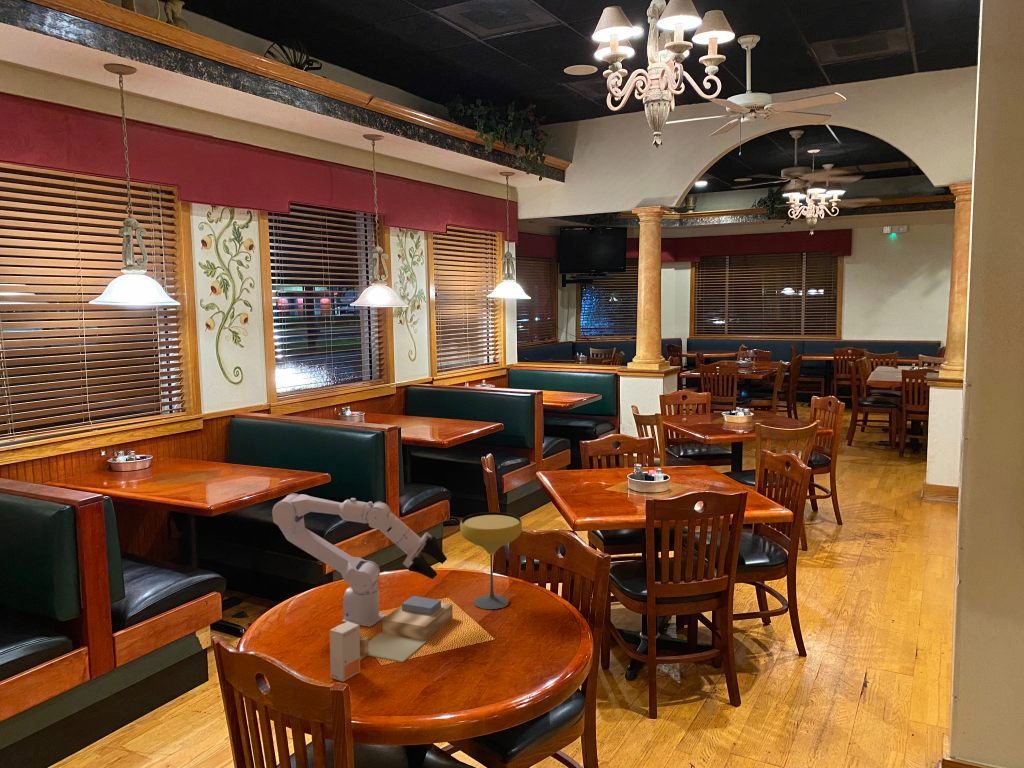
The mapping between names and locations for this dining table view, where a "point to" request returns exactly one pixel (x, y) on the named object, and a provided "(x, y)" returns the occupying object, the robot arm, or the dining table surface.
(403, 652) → the mat
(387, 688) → the dining table surface
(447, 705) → the dining table surface
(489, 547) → the cocktail glass
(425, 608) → the blue-grey rectangular block
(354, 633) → the skincare box
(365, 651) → the oak rack
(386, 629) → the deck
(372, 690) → the dining table surface
